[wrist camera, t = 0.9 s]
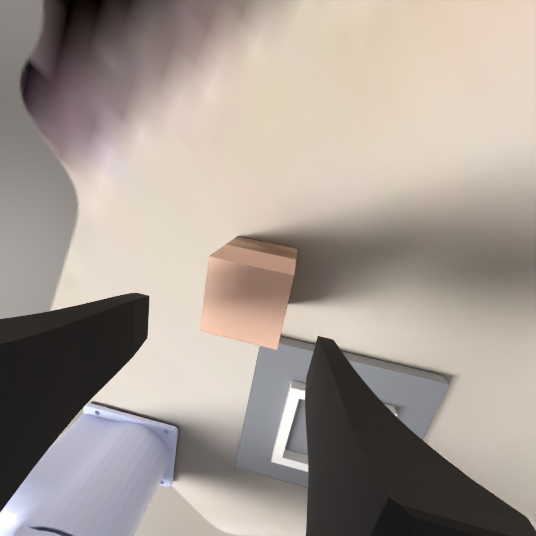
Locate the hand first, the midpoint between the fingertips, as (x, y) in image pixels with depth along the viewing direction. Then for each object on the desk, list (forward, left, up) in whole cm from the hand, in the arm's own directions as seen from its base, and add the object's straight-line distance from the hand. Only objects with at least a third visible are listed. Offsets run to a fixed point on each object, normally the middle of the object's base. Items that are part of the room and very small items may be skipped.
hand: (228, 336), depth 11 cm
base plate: (+8, -12, -9) cm, 17 cm away
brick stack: (0, 0, -9) cm, 9 cm away
